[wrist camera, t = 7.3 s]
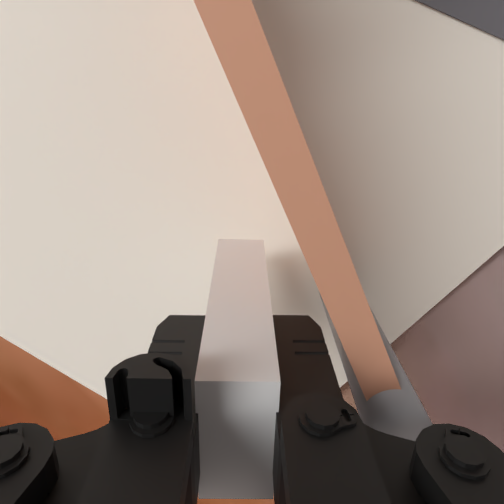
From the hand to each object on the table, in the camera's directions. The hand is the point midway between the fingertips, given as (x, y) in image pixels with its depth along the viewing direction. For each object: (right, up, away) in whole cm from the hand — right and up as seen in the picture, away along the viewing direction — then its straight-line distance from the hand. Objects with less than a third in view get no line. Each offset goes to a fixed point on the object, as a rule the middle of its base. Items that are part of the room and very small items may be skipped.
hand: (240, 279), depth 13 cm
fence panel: (+1, +4, 0) cm, 5 cm away
